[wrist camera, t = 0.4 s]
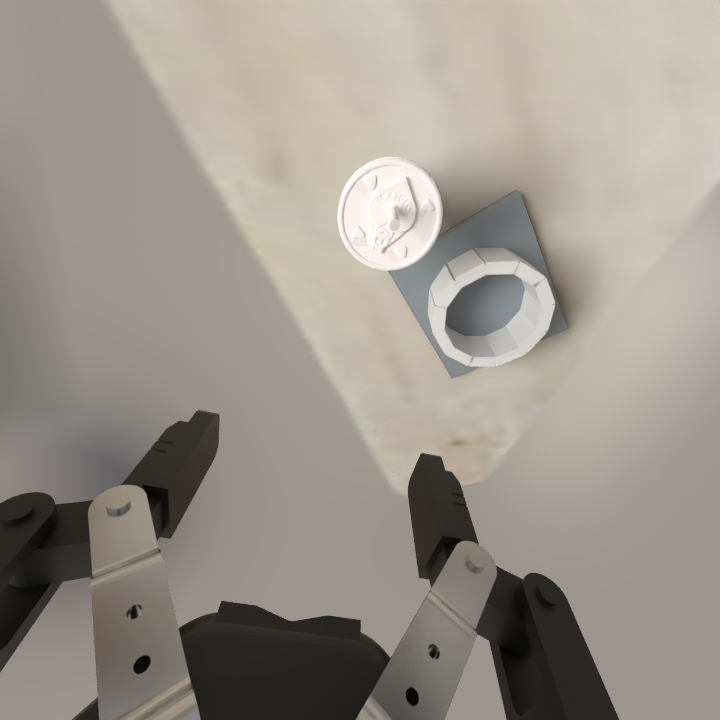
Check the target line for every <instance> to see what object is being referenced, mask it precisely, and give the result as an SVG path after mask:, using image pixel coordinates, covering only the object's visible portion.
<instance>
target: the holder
mask: <svg viewBox="0 0 720 720" xmlns="http://www.w3.org/2000/svg"><path fill="white" fill-rule="evenodd" d="M388 272H389V273H390V275H391V277H392V278H393V280H394V282H395V284H396V285H397V287H398V289H399V290H400V292H401V294H402V295H403V297H404V299H405V300H406V302H407V304H408V305H409V307H410V309H411V311H412V312H413V314H414V316H415V317H416V319H417V321H418V322H419V324H420V326H421V327H422V329H423V331H424V332H425V334H426V336H427V337H428V339H429V341H430V343H431V344H432V346H433V348H434V349H435V351H436V353H437V354H438V356H439V358H440V359H441V361H442V363H443V364H444V366H445V368H446V369H447V371H448V373H449V375H450V376H451V378H454V377H456V376H459V375H461V374H463V373H466V372H468V371H470V370H473V369H475V368H477V367H496V366H497V365H498V366H500V365H502V364H505V363H507V362H509V361H512V360H514V359H516V358H519V357H521V356H524V355H525V354H524V353H526V354H527V353H528V352H529V351H530V350H531V349H532V348H533V347H534V346H535V345H536V343H537V342H538V341H540V340H543V339H545V338H547V337H550V336H552V335H554V334H557V333H559V332H561V331H564V330H566V329H568V327H567V324H566V321H565V318H564V315H563V313H562V310H561V307H560V304H559V301H558V298H557V295H556V293H555V290H554V287H553V284H552V281H551V278H550V276H549V273H548V270H547V267H546V264H545V261H544V258H543V256H542V253H541V250H540V247H539V244H538V241H537V239H536V236H535V233H534V230H533V227H532V224H531V221H530V219H529V216H528V213H527V210H526V207H525V204H524V202H523V199H522V196H521V193H520V192H519V191H517V190H516V191H514V192H512V193H511V194H509V195H507V196H505V197H504V198H502V199H500V200H499V201H497V202H495V203H494V204H492V205H490V206H489V207H487V208H485V209H483V210H482V211H480V212H478V213H477V214H475V215H473V216H472V217H470V218H468V219H466V220H465V221H463V222H461V223H460V224H458V225H456V226H455V227H453V228H451V229H450V230H448V231H446V232H444V233H443V234H441V235H439V236H438V237H437V239H436V241H435V243H434V245H433V246H432V248H431V249H430V250H429V251H428V253H427V254H426V255H425V256H424V257H422V258H421V259H420V260H419V261H417V262H416V263H414V264H412V265H410V266H408V267H405V268H402V269H399V270H390V271H388Z"/></svg>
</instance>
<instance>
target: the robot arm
mask: <svg viewBox="0 0 720 720" xmlns="http://www.w3.org/2000/svg"><path fill="white" fill-rule="evenodd" d="M218 440H219V414H217V413H212V412H206V411H200V410H198V411H197V412H196V413H195V414H194V415H193V417H192V418H191V419H190V421H189V422H183V421H178V422H177V423H175V424H174V425H172V426H170V427H169V428H167V429H166V430H165V431H164V433H163V434H162V435H161V436H160V438H159V439H158V441H157V442H155V444H154V445H153V446H152V448H151V450H149V451H148V453H147V454H146V455H145V456H144V457H143V459H142V460H141V461H140V463H139V464H138V465H137V466H136V467H135V469H134V470H133V471H132V472H131V474H130V475H129V476H128V477H127V479H126V480H125V481H124V482H123V484H121V486H116V487H114V488H111V489H109V490H107V491H105V492H103V493H101V494H100V495H99V496H97V497H96V498H95V499H94V500H91V501H85V502H77V503H76V502H75V503H66V504H56V505H55V502H54V499H53V498H52V497H51V496H50V495H48V494H45V493H39V492H38V493H37V492H34V493H26V494H21V495H18V496H15V497H12V498H10V499H8V500H6V501H4V502H2V503H0V672H1V670H2V669H3V668H4V666H5V665H6V663H7V662H8V660H9V659H10V657H11V656H12V654H13V653H14V652H15V650H16V649H17V647H18V646H19V644H20V642H21V641H22V640H23V638H24V637H25V636H26V634H27V633H28V631H29V630H30V628H31V627H32V625H33V624H34V623H35V621H36V620H37V618H38V617H39V615H40V614H41V612H42V611H43V609H44V608H45V607H46V605H47V603H48V602H49V601H50V599H51V598H52V596H53V595H54V594H55V592H56V591H57V589H58V588H59V586H60V584H61V583H62V582H63V581H68V580H74V579H80V578H85V577H91V576H92V577H91V600H92V615H93V631H94V646H95V662H96V677H97V692H98V697H97V698H96V699H95V700H94V701H93V702H91V703H90V704H89V705H88V706H87V707H86V708H85V709H83V710H82V711H81V712H80V713H79V714H78V715H77V716H75V717H74V718H73V719H72V720H444V719H445V717H446V714H447V711H448V709H449V707H450V704H451V702H452V699H453V696H454V694H455V691H456V689H457V686H458V683H459V681H460V678H461V676H462V673H463V670H464V668H465V666H466V663H467V660H468V658H469V655H470V653H471V650H472V648H473V645H474V642H475V640H476V637H477V634H478V635H480V636H482V637H484V638H485V639H487V640H489V642H490V646H491V651H492V655H493V660H494V664H495V669H496V673H497V678H498V682H499V687H500V691H501V696H502V700H503V704H504V710H505V714H506V719H507V720H619V718H618V716H617V713H616V711H615V709H614V707H613V704H612V702H611V700H610V697H609V695H608V693H607V690H606V688H605V686H604V683H603V682H602V679H601V676H600V674H599V672H598V670H597V667H596V665H595V663H594V660H593V658H592V656H591V653H590V651H589V649H588V647H587V644H586V642H585V640H584V637H583V635H582V633H581V630H580V628H579V626H578V624H577V621H576V619H575V616H574V614H573V612H572V610H571V607H570V605H569V603H568V600H567V599H566V597H565V595H564V594H563V592H562V591H561V589H560V588H559V587H558V586H557V585H556V584H555V583H554V582H553V581H551V580H550V579H549V578H547V577H545V576H543V575H541V574H538V573H530V574H528V575H526V576H525V578H524V579H521V578H519V577H517V576H515V575H513V574H511V573H509V572H507V571H504V570H503V569H501V568H499V567H497V566H496V565H495V562H494V560H493V558H492V557H491V555H490V554H489V553H488V552H487V551H486V550H485V549H484V548H483V547H481V546H480V545H479V543H478V540H477V537H476V534H475V531H474V527H473V524H472V521H471V517H470V514H469V511H468V508H467V507H466V501H465V498H464V497H463V492H462V488H461V485H460V483H459V481H458V480H457V479H456V477H455V476H454V474H453V473H452V472H449V471H445V468H444V464H443V461H442V458H441V457H440V456H435V455H430V454H425V453H422V454H421V455H420V457H419V459H418V461H417V464H416V466H415V468H414V471H413V473H412V475H411V478H410V481H409V485H408V498H409V506H410V513H411V521H412V528H413V535H414V543H415V551H416V558H417V566H418V573H419V578H424V579H430V584H431V590H430V591H429V593H428V594H427V596H426V598H425V600H424V601H423V603H422V605H421V606H420V608H419V610H418V612H417V613H416V615H415V617H414V619H413V620H412V622H411V624H410V625H409V627H408V629H407V631H406V633H405V634H404V636H403V637H402V639H401V641H400V643H399V644H398V646H397V648H396V649H395V651H394V653H393V655H392V656H391V658H390V657H389V656H388V655H387V653H386V652H385V651H384V650H383V649H382V648H381V646H380V645H378V644H377V643H376V642H375V641H374V640H373V639H371V638H369V637H368V636H367V635H365V634H363V633H361V632H360V627H361V624H360V623H361V620H356V619H348V618H341V617H334V616H322V617H317V618H310V619H304V620H298V621H288V620H286V619H284V618H282V617H279V616H277V615H275V614H273V613H271V612H269V611H267V610H265V609H262V608H260V607H258V606H254V605H247V604H240V603H233V602H226V601H221V604H220V607H219V610H218V612H217V613H212V614H208V615H204V616H201V617H199V618H196V619H194V620H192V621H190V622H188V623H186V624H184V625H183V626H181V627H180V628H178V624H177V620H176V616H175V611H174V606H173V602H172V597H171V593H170V589H169V584H168V580H167V575H166V571H165V567H164V562H163V558H162V554H161V551H160V549H159V548H158V544H157V541H158V539H159V537H163V538H171V537H172V535H173V534H174V532H175V530H176V528H177V526H178V524H179V523H180V521H181V519H182V517H183V515H184V513H185V511H186V510H187V508H188V506H189V504H190V502H191V501H192V499H193V497H194V495H195V493H196V491H197V490H198V488H199V486H200V484H201V482H202V480H203V479H204V477H205V475H206V473H207V471H208V469H209V467H210V466H211V464H212V462H213V460H214V458H215V455H216V452H217V448H218Z"/></svg>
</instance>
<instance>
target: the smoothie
mask: <svg viewBox="0 0 720 720" xmlns="http://www.w3.org/2000/svg"><path fill="white" fill-rule="evenodd" d="M442 218H443V207H442V200H441V196H440V193H439V190H438V188H437V186H436V184H435V182H434V180H433V179H432V178H431V176H430V175H429V174H428V173H427V172H426V170H425V169H424V168H422V167H421V166H419V165H418V164H416V163H415V162H413V161H411V160H407V159H404V158H400V157H382V158H379V159H377V160H374V161H371V162H368V163H367V164H365V165H364V166H363V167H361V168H360V169H358V170H357V171H356V172H355V173H354V175H353V176H352V177H351V178H350V179H349V181H348V182H347V184H346V186H345V188H344V190H343V192H342V194H341V197H340V202H339V206H338V227H339V231H340V235H341V237H342V240H343V242H344V244H345V246H346V247H347V249H348V250H349V252H350V253H351V254H352V255H353V256H354V257H355V258H356V259H357V260H359V261H360V262H361V263H363V264H365V265H367V266H369V267H371V268H374V269H378V270H387V271H390V270H399V269H402V268H405V267H408V266H410V265H412V264H414V263H416V262H417V261H419V260H420V259H421V258H422V257H424V256H425V255H426V254H427V253H428V251H429V250H430V249H431V248H432V246H433V245H434V243H435V241H436V239H437V237H438V235H439V232H440V229H441V225H442Z"/></svg>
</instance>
